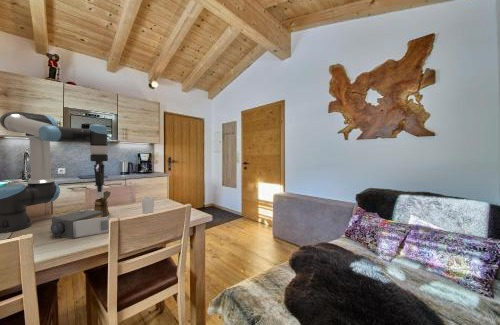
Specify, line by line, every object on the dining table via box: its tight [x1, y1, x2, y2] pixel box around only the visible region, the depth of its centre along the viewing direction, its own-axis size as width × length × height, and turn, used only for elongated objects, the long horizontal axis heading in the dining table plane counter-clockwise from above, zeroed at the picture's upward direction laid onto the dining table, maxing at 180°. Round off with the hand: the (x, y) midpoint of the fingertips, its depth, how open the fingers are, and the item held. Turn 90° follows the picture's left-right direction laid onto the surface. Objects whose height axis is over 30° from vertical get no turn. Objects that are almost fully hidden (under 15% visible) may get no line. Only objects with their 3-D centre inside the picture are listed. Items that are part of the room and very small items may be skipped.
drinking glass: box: [141, 195, 155, 215], centre depth 128 cm, size 7×7×15 cm
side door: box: [72, 216, 110, 239], centre depth 106 cm, size 2×15×8 cm, turn 126°
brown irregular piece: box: [93, 190, 111, 217], centre depth 135 cm, size 9×14×18 cm, turn 57°
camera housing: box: [50, 208, 103, 239], centre depth 110 cm, size 14×19×10 cm
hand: (100, 197), depth 111 cm, fingers closed
